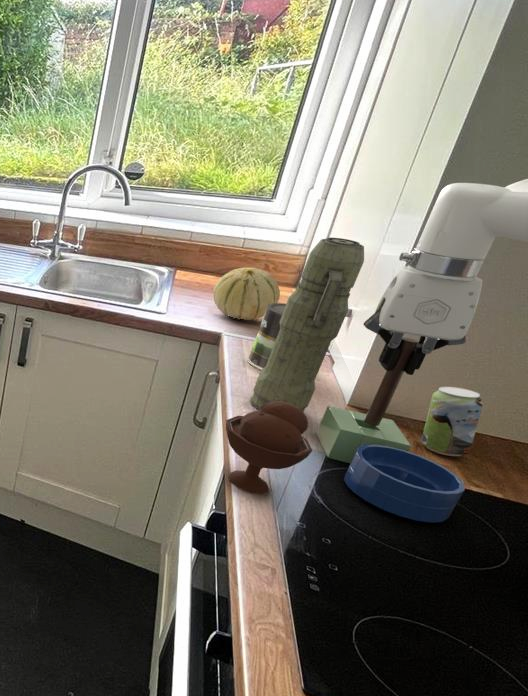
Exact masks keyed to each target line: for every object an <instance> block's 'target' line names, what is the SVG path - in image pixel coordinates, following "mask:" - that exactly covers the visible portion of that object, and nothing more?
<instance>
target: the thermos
mask: <svg viewBox="0 0 528 696" xmlns="http://www.w3.org/2000/svg"><path fill="white" fill-rule="evenodd" d="M364 263H365V246H364V244H361V243H360V242H359V241H356V240H352V239H347V238H340V237H326V238H322V239H320V240H319V241H318V243H316V245H315V246H314V247H313V248H312V250H311V251H310V252H309V254H308V257H307V260H306V263H305V264H304V267H303V271H302V273H301V275H300V278H301V279H300V282H298V283H297V286H296V289H295V290H294V291H293V292H292V293H291V294H290V296H289V297H288V299H287V301H286V303H285V304H286V306H285V309H284V311H283V314H282V317H281V319H280V322H279V323H280V330H279V333H278V336H277V338H276V341H275V344H274V346H273V349H272V351H271V354H270V357H269V359H268V362H267V364H266V366H265V367H264V368H263V369H262V370H260V371H259V374H258V376H257V379H256V382H255V384H254V387H253V389H252V390H253V394H252V396H251V397H250V400H249V402H250V404H251V406H253V407H254V408H255V409H256V410H257V411H258V410H259V408H260V406H262V405H264V404H266V403H268V402H273V401H282V402H287V403H290V404H292V405H294V406H296V407H298V408H299V409H300V410H302V411H303V413H304V412H305V410H306V408H308V407H309V405H310V402H311V400H312V398H313V395H314V392H315V390H316V386H315V383H316V382H315V381H316V378H317V376H318V374H319V372H320V370H321V367H322V364H323V362H324V360H325V357H326V356H327V353H328V350H329V348H330V345H331V343H332V341H334V339H336V338H337V337H338V336H339V333H340V330H341V328H342V326H343V323H344V321H345V318H346V316H347V314H348V312H349V298H350V295H351V293H350V292H351V289H353V288H354V286H355V284H356V282H357V279H358V277H359V275H360V272H361V270H362V267H363V264H364ZM304 414H305V413H304Z"/></svg>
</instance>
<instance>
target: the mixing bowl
mask: <svg viewBox="0 0 528 696" xmlns="http://www.w3.org/2000/svg"><path fill="white" fill-rule="evenodd" d="M343 481H344V482H345V486H346V487H348V488H349V489H350V490H351V491H352V492H353V493H354V494H355V495H356V496H358V497H360V498H361V499H363V500H364V501H366V502H367V503H369V504H371V505H373V506H374V507H377V508H379V509H380V510H383V511H385V512H387V513H390V514H393V515H395V516H399V517H402V518H404V519H405V518H406V519H409V520H411V521H412V520H413V521H417V522H423V523H431V524H432V523H443V522H445V521H446V520H448V519H449V518H450V516H451V514H452V512H453V511H454V509H455V507H456V506H457V504H458V503H459V501H460V499H461V498H462V495H463V494H464V492H465V489H466V488H465V487H466V485H465V483H464V482H463V480H462V479H461V478H460V477H459V476H458V475H457V474H455V473H454V472H452V471H451V470H450V469H448V468H447V467H444V466H443V465H441V464H439V463H437V462H436V461H434V460H432V459H429V458H427V457H424V456H422V455H419V454H417V453H414V452H411V451H405V450H401V449H397V448H393V447H389V446H382V445H363V446H361V447H358V449H357V451H356V453H355V455H354V457H353V459H352V461H351V463H349V466H348V468H347V469H346V472H345V474H344V476H343Z"/></svg>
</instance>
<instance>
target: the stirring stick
mask: <svg viewBox="0 0 528 696" xmlns="http://www.w3.org/2000/svg"><path fill="white" fill-rule="evenodd" d="M417 343H418V341H417V340H416V339H413V338H411V337H402V340H401V342H400V344H399V345H400V346H399V349H400V350H401V352H400V354H399V356H398V359H397V361H396V363H395V365H394V367H393V369H392V370H391V371H387V370H385V373H384V376H383V377H382V379H381V382H380V384H379V386H378V389H377V391H376V393H375V394H374V397H373V399H372V402H371V405H370V406H369V408H368V410H367V413H366V414H367V415H366V417H365V419H364V422H366V423H367V424H370V425H373V426H379V424H380V422H381V420H382V418H384V416H385V413H386V411H387V410H388V407H389V405H390V403H391V401H392V398H393V396H394V395H395V392H396V390H397V388H398V386H399V384H400V381H401V379H402V378H403V375H404V373H405V369H406V367H407V364H408V362H409V360H410V358H411V356H412V354H413V352H414V349H415V347H416V345H417Z"/></svg>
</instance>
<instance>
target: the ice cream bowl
mask: <svg viewBox="0 0 528 696" xmlns="http://www.w3.org/2000/svg"><path fill="white" fill-rule="evenodd" d="M308 426H309V421H308V418H307V415H306V414H305V413H303V411H302V410H300V409H299V408H298V407H296V406H294V405H292V404H290V403H287V402H282V401H273V402H268V403H266V404H264V405H262V406H260V408H259V410H258V409H257V410H254V411H250V412H248V413H246V414H245V415H236V416H233V417H231V418H228V419H226V420H225V432H226V436H227V437H226V438H227V441H228V443H229V446H230V448H231V449H232V450H233V452H234V453H235V454H236V455H238V456H239V457H240V458H241V459H243V460H244V461H245V462H247V463H248V464H247V467H246V469H245V470H233V471H232V472H230V473H229V474H227V476H228V480H229V482H230V483H231V484H233V485H234V486H235V487H237V488H238V489H240V490H243V491H245V492H248V493H249V494H257V495H261V496H262V495H265V494H267V493H269V492H270V488H269V485H268V482H267V481H265V480H264V479H263V478H261V477H260V473H261V470H262V469H269V470H283V469H288V468H292V467H293V466H295V465H298V464H300V463H301V462H302V461H304V460H305V459H307V458H308V457H309V455H311V453H312V452H313V449H312V446H311V443H310V442H309V441H308V439H307V438H306V437H304V436H303V435H302V434H304V433H305V432H306V430H308Z"/></svg>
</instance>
